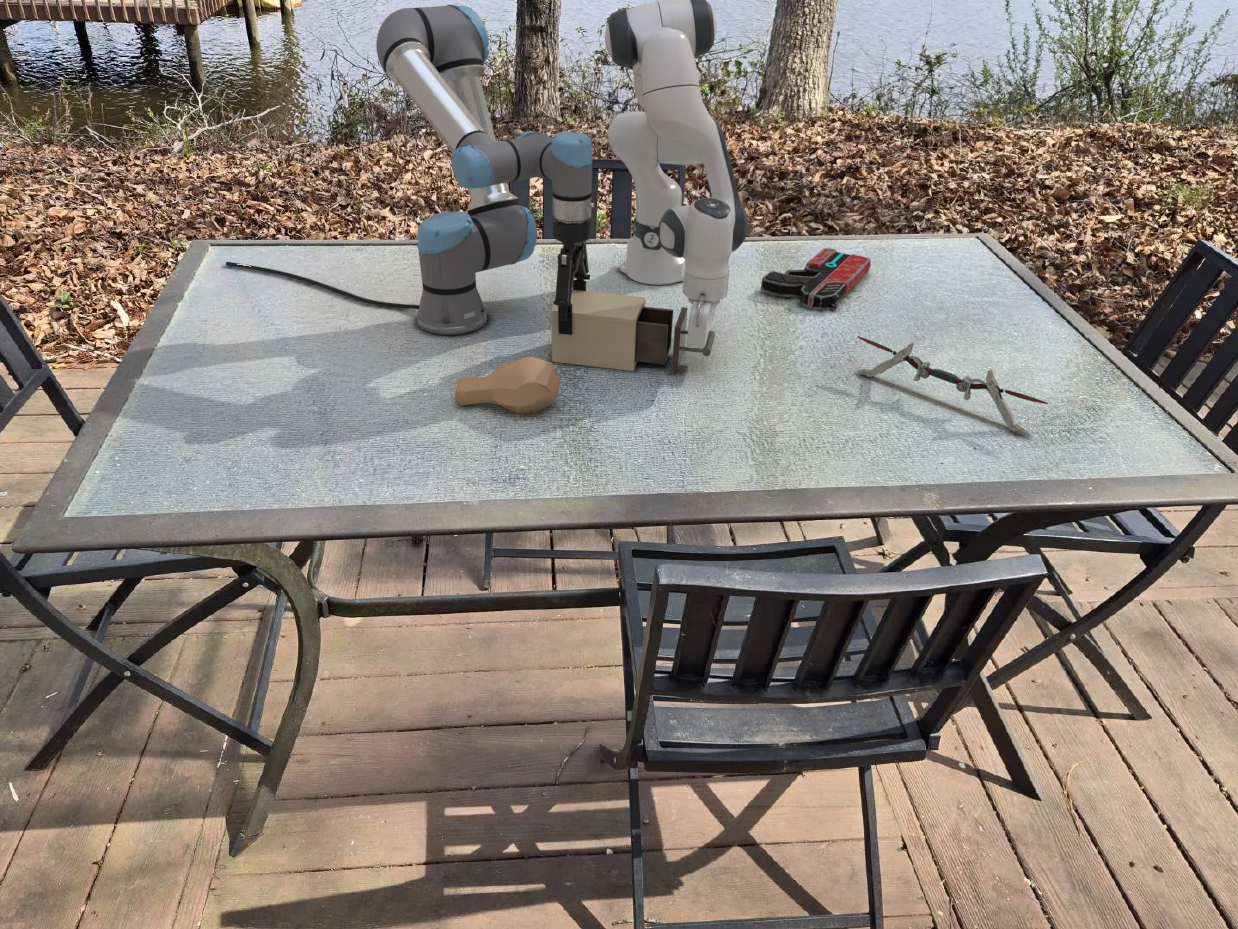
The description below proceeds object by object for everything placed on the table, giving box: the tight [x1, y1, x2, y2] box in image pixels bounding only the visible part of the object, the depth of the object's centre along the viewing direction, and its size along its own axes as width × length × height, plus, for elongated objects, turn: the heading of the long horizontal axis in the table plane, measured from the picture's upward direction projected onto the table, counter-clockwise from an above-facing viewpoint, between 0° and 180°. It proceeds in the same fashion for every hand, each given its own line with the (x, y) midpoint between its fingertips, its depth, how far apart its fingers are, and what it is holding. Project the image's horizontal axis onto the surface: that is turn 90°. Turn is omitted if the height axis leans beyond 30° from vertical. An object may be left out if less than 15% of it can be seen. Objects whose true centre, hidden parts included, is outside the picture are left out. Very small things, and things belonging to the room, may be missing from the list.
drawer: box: [635, 306, 716, 371], centre depth 180 cm, size 22×10×9 cm, turn 79°
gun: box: [760, 247, 872, 311], centre depth 219 cm, size 4×31×19 cm
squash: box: [454, 356, 561, 414], centre depth 164 cm, size 11×20×9 cm, turn 90°
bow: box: [856, 335, 1049, 435], centre depth 169 cm, size 39×2×10 cm, turn 47°
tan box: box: [550, 289, 646, 372], centre depth 182 cm, size 17×12×12 cm, turn 79°
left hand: (572, 321), depth 182 cm, fingers closed on tan box, 11 cm apart
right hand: (699, 348), depth 180 cm, fingers closed, pressing on drawer
